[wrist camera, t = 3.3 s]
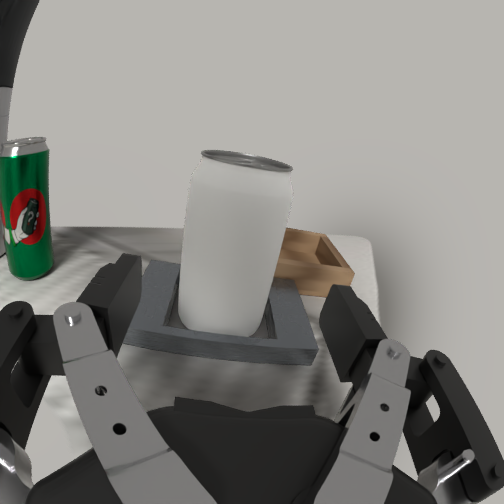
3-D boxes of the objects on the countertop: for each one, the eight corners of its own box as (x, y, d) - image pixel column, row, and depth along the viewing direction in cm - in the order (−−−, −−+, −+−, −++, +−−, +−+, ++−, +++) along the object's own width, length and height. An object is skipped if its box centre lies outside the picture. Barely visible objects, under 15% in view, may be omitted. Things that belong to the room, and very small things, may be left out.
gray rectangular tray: (121, 343, 16) (118, 325, 16) (151, 275, 24) (151, 259, 24) (311, 365, 18) (318, 349, 18) (289, 294, 26) (294, 279, 26)
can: (212, 284, 25) (235, 149, 20) (274, 317, 23) (314, 170, 18) (160, 314, 20) (171, 148, 15) (228, 360, 17) (267, 172, 12)
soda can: (63, 261, 23) (60, 136, 18) (37, 288, 18) (25, 143, 13) (28, 253, 22) (22, 137, 17) (1, 277, 18) (-13, 145, 13)
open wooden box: (247, 288, 26) (254, 259, 25) (243, 243, 35) (248, 221, 34) (344, 298, 27) (354, 273, 26) (318, 255, 36) (325, 234, 35)
